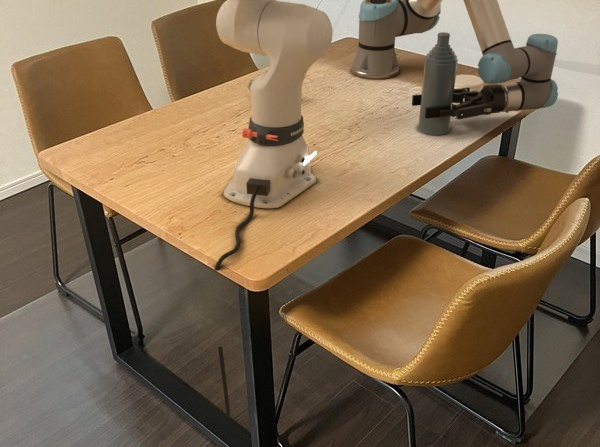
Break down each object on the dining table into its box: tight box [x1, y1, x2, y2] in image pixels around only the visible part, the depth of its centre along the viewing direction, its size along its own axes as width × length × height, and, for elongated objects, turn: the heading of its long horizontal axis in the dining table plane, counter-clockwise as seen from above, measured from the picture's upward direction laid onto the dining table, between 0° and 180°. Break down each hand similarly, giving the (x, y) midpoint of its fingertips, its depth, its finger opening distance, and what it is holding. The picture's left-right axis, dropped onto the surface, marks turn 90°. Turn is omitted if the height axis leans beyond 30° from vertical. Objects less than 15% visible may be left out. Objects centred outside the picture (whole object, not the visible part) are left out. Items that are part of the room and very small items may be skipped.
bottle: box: [417, 31, 459, 136], centre depth 158 cm, size 8×8×25 cm
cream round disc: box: [454, 74, 485, 92], centre depth 187 cm, size 10×10×4 cm
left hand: (378, 3), depth 158 cm, fingers closed on cap, 4 cm apart
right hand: (419, 106), depth 160 cm, fingers closed on bottle, 8 cm apart
